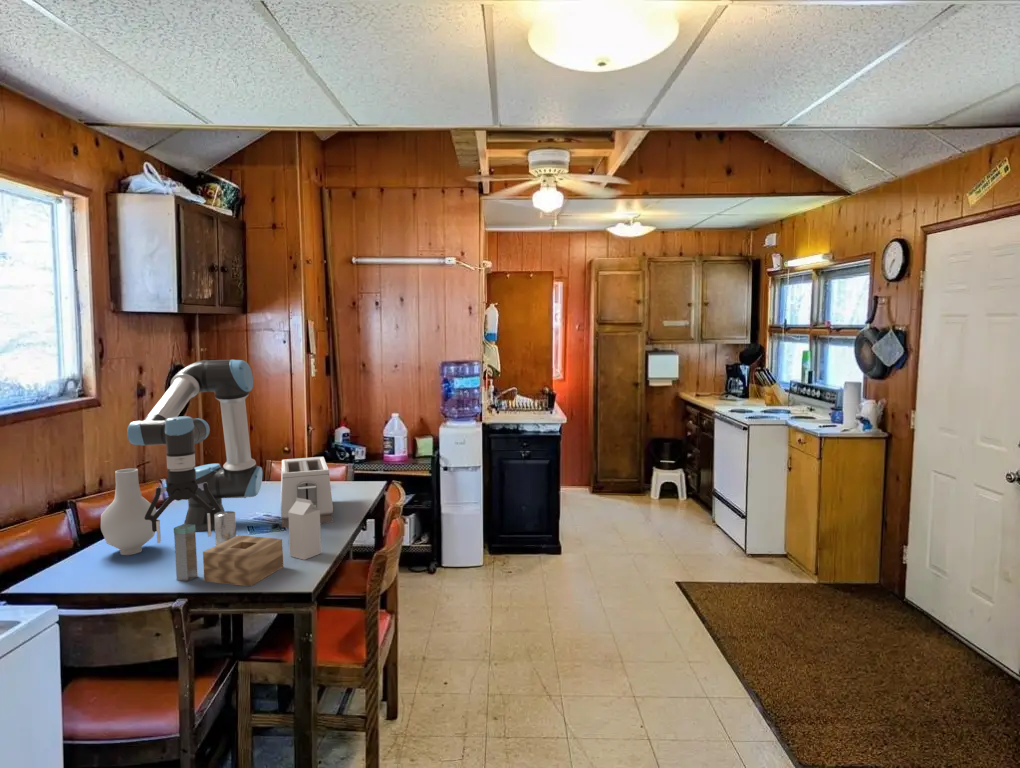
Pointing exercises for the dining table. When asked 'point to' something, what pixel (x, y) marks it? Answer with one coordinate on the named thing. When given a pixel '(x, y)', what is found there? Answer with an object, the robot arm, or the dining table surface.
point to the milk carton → (304, 529)
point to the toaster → (306, 486)
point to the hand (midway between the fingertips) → (184, 538)
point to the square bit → (185, 552)
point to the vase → (127, 515)
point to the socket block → (243, 560)
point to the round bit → (224, 526)
